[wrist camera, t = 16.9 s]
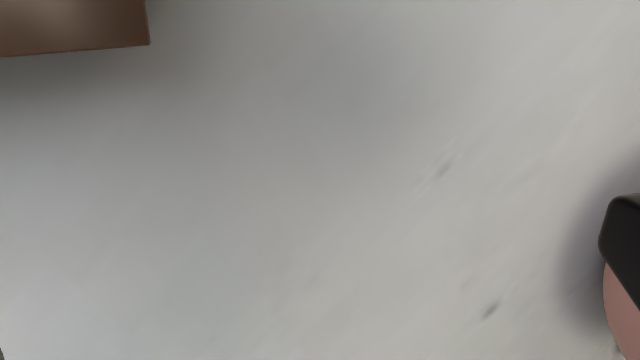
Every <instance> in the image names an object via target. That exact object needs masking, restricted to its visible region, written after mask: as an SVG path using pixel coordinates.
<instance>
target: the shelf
mask: <svg viewBox="0 0 640 360" xmlns="http://www.w3.org/2000/svg"><path fill="white" fill-rule="evenodd" d="M150 43H151V42H150V35H149V28H148V21H147V14H146V7H145V0H0V58H5V57H16V56H28V55H40V54H52V53H64V52H76V51H87V50H99V49H111V48H123V47H135V46H147V45H150Z"/></svg>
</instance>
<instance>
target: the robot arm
mask: <svg viewBox="0 0 640 360" xmlns="http://www.w3.org/2000/svg"><path fill="white" fill-rule="evenodd" d="M598 248H599V251H600V253H601V255H602V257H603V258H604V260H605V261H606V263H607V264H608V266H609V267H610V269H611V270H612V272H613V273H614V275H615V276H616V278H617V279H618V281H619V282H620V283H621V285H622V286H623V288H624V289H625V291H626V292H627V294H628V295H629V297H630V298H631V300H632V301H633V303H634V304H635V306H636V307H637V309H638V310H639V312H640V194H629V195H624V196H618V197H616V198H614V199H612V201H611V202H610V203H609V205H608V208H607V211H606V214H605V218H604V221H603V224H602V227H601V230H600V234H599V237H598ZM0 360H4V356H3V353H2V351H1V348H0Z"/></svg>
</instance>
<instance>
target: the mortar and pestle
mask: <svg viewBox="0 0 640 360" xmlns="http://www.w3.org/2000/svg"><path fill="white" fill-rule="evenodd" d="M603 302H604V308H605V313H606V317H607V321H608V325H609V327H610V330H611V332H612V335H613V337H614V339H615V341H616V343H617V345H618V347H619V349H620V351H621V353H622V354H623V355H624V357H625V358H626V360H640V312H639V310H638V309H637V307H636V306H635V304H634V303H633V301H632V300H631V298H630V297H629V295H628V294H627V292H626V291H625V289H624V288H623V286H622V285H621V283H620V282H619V281H618V279H617V278H616V276H615V275H614V273H613V272H612V270H611V269H610V267H609V266H608V264H607V263H606V265H605V270H604V275H603Z"/></svg>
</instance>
